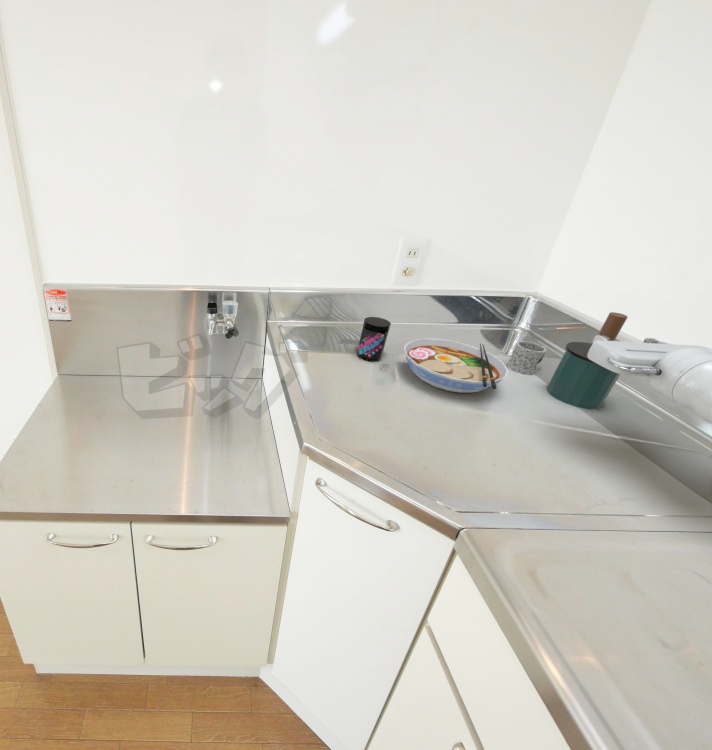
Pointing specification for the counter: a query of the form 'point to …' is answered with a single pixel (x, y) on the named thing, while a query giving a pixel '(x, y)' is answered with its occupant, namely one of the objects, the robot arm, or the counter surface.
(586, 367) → the teal faceted tumbler
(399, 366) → the counter surface
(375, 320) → the supplement container
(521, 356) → the mug
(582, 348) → the lid
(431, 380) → the ramen bowl
